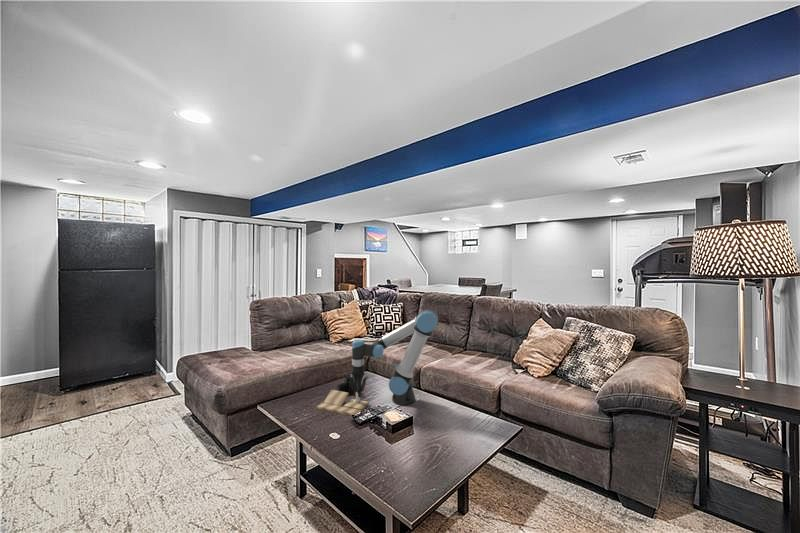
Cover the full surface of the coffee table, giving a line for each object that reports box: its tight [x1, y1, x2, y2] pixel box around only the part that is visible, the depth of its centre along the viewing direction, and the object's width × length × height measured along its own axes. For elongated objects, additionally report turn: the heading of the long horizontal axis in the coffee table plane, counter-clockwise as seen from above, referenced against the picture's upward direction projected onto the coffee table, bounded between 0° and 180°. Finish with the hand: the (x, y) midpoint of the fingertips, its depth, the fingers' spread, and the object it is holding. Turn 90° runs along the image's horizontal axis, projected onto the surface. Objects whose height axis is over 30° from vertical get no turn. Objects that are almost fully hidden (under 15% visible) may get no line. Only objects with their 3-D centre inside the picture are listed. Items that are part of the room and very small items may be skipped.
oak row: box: [316, 401, 363, 417], centre depth 203 cm, size 28×6×2 cm, turn 68°
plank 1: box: [323, 389, 350, 406], centre depth 213 cm, size 13×10×1 cm
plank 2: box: [343, 398, 370, 411], centre depth 209 cm, size 13×10×1 cm
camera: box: [336, 375, 355, 396], centre depth 232 cm, size 14×11×10 cm
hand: (357, 401), depth 211 cm, fingers closed
